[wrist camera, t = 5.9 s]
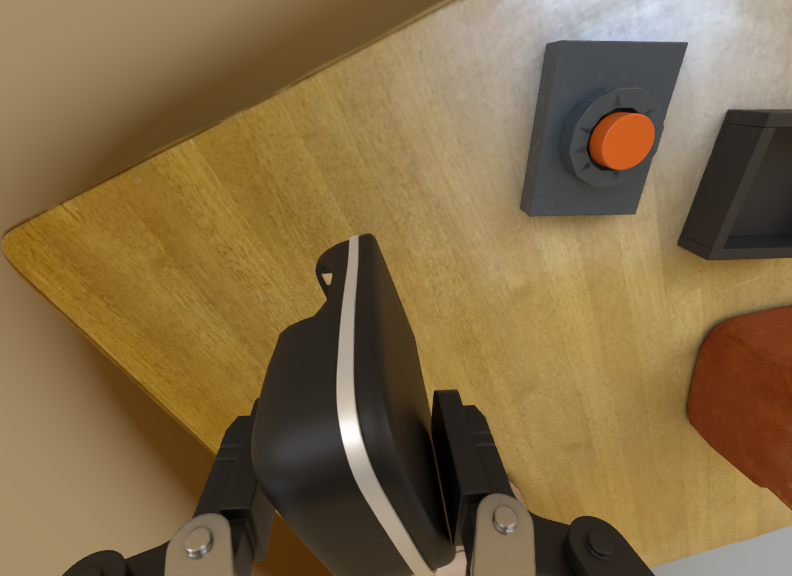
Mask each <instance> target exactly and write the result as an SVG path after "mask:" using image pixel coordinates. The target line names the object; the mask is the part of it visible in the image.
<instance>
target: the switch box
mask: <svg viewBox="0 0 792 576" xmlns="http://www.w3.org/2000/svg"><path fill="white" fill-rule="evenodd" d="M687 45H688V42H633V41H567V40H561V41H556V42H552V43H547V46H546V52H545V58H544V64H543V70H542V76H541V83H540V89H539V95H538V101H537V107H536V114H535V120H534V126H533V132H532V138H531V144H530V151H529V157H528V163H527V169H526V175H525V182H524V188H523V194H522V200H521V206H520V209H521V210H522V211H524V212H525V213H526V214H527V215H529V216H577V215H625V214H635V213H636V210H637V207H638V203H639V200H640V197H641V194H642V191H643V187H644V184H645V181H646V178H647V174H648V171H649V168H650V165H651V161H652V158H653V156H654V155H655V153H656V151H657V148H658V145H659V141H660V138H661V135H662V132H663V129H664V124H663V123H664V119H665V116H666V113H667V110H668V106H669V103H670V100H671V97H672V93H673V90H674V87H675V84H676V81H677V77H678V74H679V71H680V68H681V64H682V61H683V58H684V55H685V51H686V48H687ZM616 112H629V113H639V114H643V115H645V116H647V117H648V118H649V119H650V120H651V122H652V123H653V126H654V130H655V137H654V142H653V145H652V147H651V150H650V151H649V153H648V154H647V156H646V157H645V158H644V159H643V160H642V161H641V162H640V163H638V164H637V165H635V166H634V167H632V168H629V169H626V170H615V169H611V168H608V167H605V166H602V165H600V164H598V163H596V162H595V161H594V160H593V159H592V157H591V154H590V151H589V141H590V137H591V134H592V132H593V130H594V129H595V127H596V126H597V125H598V123H599V122H600V121H601V120H603V119H604V118H605V117H607V116H608V115H610V114H613V113H616Z"/></svg>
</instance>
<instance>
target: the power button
mask: <svg viewBox="0 0 792 576" xmlns="http://www.w3.org/2000/svg"><path fill="white" fill-rule="evenodd" d="M654 137H655V130H654V126H653V123H652V122H651V120H650V119H649V118H648V117H647V116H645V115H643V114H639V113H629V112H616V113H613V114H610V115H608V116H607V117H605V118H604V119H603V120H601V121H600V122H599V123H598V125H597V126H596V127H595V129H594V130H593V132H592V134H591V137H590V141H589V151H590V154H591V157H592V159H593V160H594V161H595V162H596V163H598V164H600V165H602V166H605V167H608V168H611V169H615V170H626V169H629V168H632V167H634V166H635V165H637V164H638V163H640V162H641V161H642V160H643V159H644V158H645V157H646V156H647V154H648V153H649V151H650V150H651V147H652V145H653V142H654Z"/></svg>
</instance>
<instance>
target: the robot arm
mask: <svg viewBox="0 0 792 576" xmlns="http://www.w3.org/2000/svg"><path fill="white" fill-rule="evenodd" d="M258 402H259V398H257V399H256V400H255V403H254V406H253V409H252V412H251V415H250V416H238V417H237V418H236V420H235V421H234V422H233V423H232V424H231V425H230V426H229V428H228V429H227V430H226V432H225V435H224V438H223V440H222V443H221V445H220V449H219V451H218V453H217V456H216V460H215V462H214V464H213V466H212V469H211V472H210V474H209V477H208V480H207V482H206V485H205V487H204V490H203V493H202V495H201V498H200V500H199V503H198V506H197V508H196V511H195V513H194V516H193V517H192V519H191V520H189V521H188V522H186V523H185V524H184V525H183V526H181V528H179V529H178V531H177V532H176V533H175V534H174V536H173V537H172V539H171V540H170V541H168V542H166V543H164V544H162V545H160V546H158V547H156V548H153V549H150V550H148V551H145V552H143V553H140V554H138V555H135V556H132V557H130V558H127V559H124V557H123V556H122V555H121V554H120V553H118V552H116V551H113V550H104V551H99V552H96V553H93V554H90V555H89V556H87V557H85V558H83V559H82V560H80V561H78V562H77V563H76V564H74V565H73V566H72V567H71V568H69V569H68V570H67V571H66V572H65V573H64V574H63V576H250V575H251V570H252V566H253V562H254V561H265V560H266V555H267V550H268V544H269V539H270V534H271V529H272V524H273V519H274V514H275V508H274V506H273V505H272V504H271V503H270V501H269V500H268V499H267V497H266V496H265V494H264V493H263V491H262V490H261V488H260V486H259V484H258V481H257V479H256V476H255V474H254V470H253V464H252V459H251V437H252V430H253V424H254V420H255V415H256V411H257V407H258ZM490 432H491V431H490V429H489V426H488V423H487V421H486V418H485V416H484V415H483V414H482V413H481V412H480V411H479V410H478V409H477V408H476V406H475V405H467V406H463V405H462V402H461V398H460V395H459V392H458V390H457V389H455V390H435V391H434V396H433V407H432V418H431V436H432V443H433V448H434V453H435V458H436V463H437V468H438V473H439V478H440V483H441V488H442V493H443V499H444V504H445V509H446V514H447V519H448V524H449V529H450V534H451V539H452V544H453V547H454V546H463V547H464V551H465V556H466V561H467V563H466V569H465V576H655V575H654V574H653V573H652V572H651V570H650V569H649V568H648V567H647V565H646V564H645V563H644V562H643V561H642V559H641V558H640V557H639V556H638V554H637V553H636V552H635V551H634V550H633V548H632V547H631V546H630V545H629V543H628V542H627V541H626V540H625V539H624V537H623V536H622V535H621V534H620V533H619V532H618V531H617V530H616V529H615V528H614V527H613V526H611V525H610V524H609V523H607V522H605V521H603V520H601V519H599V518H596V517H592V516H582V517H578V518H576V519H575V520H574V521H573V522H572V523H571V525H567V524H563V523H559V522H556V521H552V520H548V519H544V518H541V517H539V516H537V515H535V514H533V513H531V512H530V511H528V510H527V509H526V508H525V506H524V505H523V504H522V503H521V502H519V501H518V500H517V498H516V496H515V495H514V493H513V491H512V488H511V485H510V483H509V480H508V477H507V475H506V472H505V469H504V467H503V464H502V461H501V458H500V456H499V453H498V450H497V448H496V446H495V442H494V440H493V437H492V434H491V433H490Z"/></svg>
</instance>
